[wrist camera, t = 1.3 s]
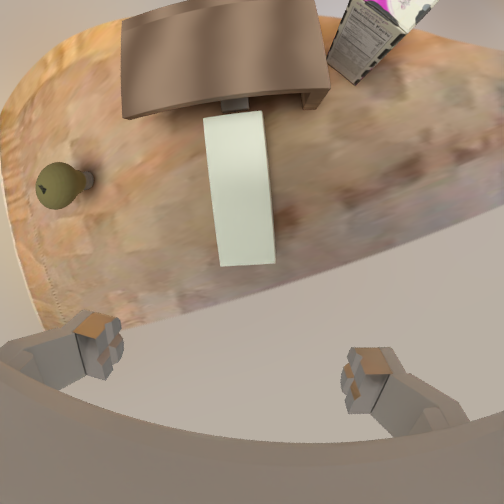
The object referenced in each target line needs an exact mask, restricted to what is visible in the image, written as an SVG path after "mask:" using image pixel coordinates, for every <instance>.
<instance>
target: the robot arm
mask: <svg viewBox="0 0 504 504" xmlns="http://www.w3.org/2000/svg"><path fill="white" fill-rule="evenodd" d="M121 329H122V328H121V322H120V320H119V319H118V318H117V317H113V316H109V315H105V314H101V313H98V312H94V311H90V310H81V311H80V312H79V313H78V314H77V315H76V316H75V317H73V318H72V319H71V320H70V321H69V322H68V323H67V324H65V325H64V326H63V327H62V328H61V329H60V328H55V329H51V330H48V331H44V332H41V333H37V334H33V335H30V336H26V337H22V338H19V339H15V340H11V341H8V342H7V343H6V344H4V345H3V346H2V347H1V348H0V504H504V411H502V412H499V413H496V414H493V415H490V416H487V417H484V418H481V419H477V420H474V421H471V422H470V420H469V419H468V417H467V416H466V414H465V412H464V411H463V409H462V407H461V406H460V404H459V403H458V402H457V401H456V400H454V399H452V398H450V397H449V396H447V395H446V394H444V393H442V392H440V391H439V390H437V389H435V388H434V387H432V386H431V385H429V384H427V383H425V382H424V381H422V380H421V379H419V378H417V377H415V376H414V375H412V374H410V373H409V374H407V373H406V371H405V370H404V368H403V366H402V364H401V363H400V361H399V359H398V357H397V356H396V354H395V353H394V351H393V349H392V348H390V347H378V348H351V349H350V350H349V353H348V356H347V358H348V361H349V363H348V364H347V365H345V366H344V368H343V371H342V374H341V389H342V392H343V393H344V394H346V395H347V396H346V398H345V403H346V408H347V411H348V414H370V413H371V415H372V416H373V417H374V418H375V419H376V420H377V421H378V422H379V423H380V424H381V425H382V426H383V427H384V428H385V429H386V430H387V431H388V432H389V433H390V434H391V435H392V436H393V437H394V438H387V439H378V440H369V441H358V442H341V443H284V442H268V441H267V442H266V441H255V440H244V439H236V438H228V437H221V436H214V435H207V434H202V433H196V432H191V431H186V430H181V429H176V428H171V427H166V426H163V425H158V424H154V423H151V422H147V421H143V420H139V419H136V418H132V417H129V416H126V415H122V414H119V413H116V412H113V411H110V410H107V409H104V408H101V407H98V406H95V405H93V404H90V403H87V402H84V401H82V400H80V399H77V398H74V397H72V396H70V395H67V394H65V393H62V392H60V391H59V390H60V389H62V388H64V387H66V386H68V385H70V384H71V383H73V382H75V381H77V380H79V379H81V378H83V377H85V376H86V375H88V376H92V377H95V378H98V379H102V380H106V379H107V378H108V376H109V375H110V373H111V372H112V371H113V366H112V365H113V364H115V363H118V362H119V360H120V359H121V357H122V354H123V351H124V342H123V338H122V337H121V335H120V334H119V331H120V330H121Z"/></svg>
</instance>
